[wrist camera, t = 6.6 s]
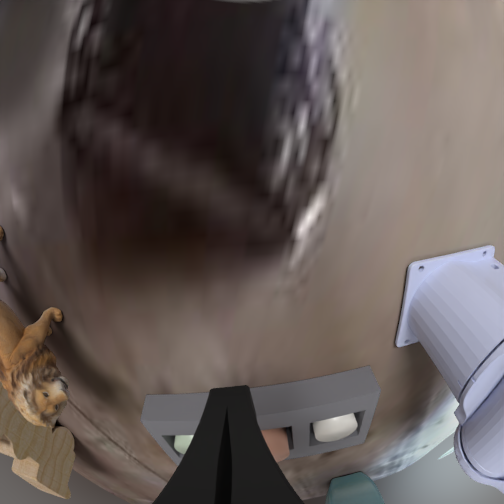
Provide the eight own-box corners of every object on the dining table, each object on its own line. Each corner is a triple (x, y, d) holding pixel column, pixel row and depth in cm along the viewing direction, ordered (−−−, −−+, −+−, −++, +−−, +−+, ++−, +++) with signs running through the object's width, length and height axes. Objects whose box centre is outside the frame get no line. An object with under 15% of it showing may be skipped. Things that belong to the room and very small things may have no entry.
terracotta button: (284, 416, 23) (288, 443, 20) (286, 435, 25) (290, 460, 22) (239, 421, 23) (240, 449, 20) (246, 440, 25) (247, 465, 22)
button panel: (369, 365, 23) (381, 390, 20) (356, 421, 27) (364, 442, 25) (146, 394, 23) (140, 420, 20) (180, 444, 27) (177, 466, 25)
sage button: (212, 412, 24) (211, 439, 22) (221, 432, 26) (221, 456, 23) (171, 414, 24) (168, 439, 22) (184, 433, 26) (182, 457, 23)
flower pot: (320, 476, 35) (330, 523, 27) (373, 463, 35) (387, 507, 27) (318, 490, 39) (325, 530, 30) (364, 479, 38) (375, 517, 30)
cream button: (351, 391, 24) (360, 415, 21) (347, 412, 26) (354, 435, 23) (309, 400, 24) (315, 426, 21) (309, 421, 26) (314, 445, 23)
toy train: (4, 357, 22) (-34, 422, 13) (85, 444, 29) (69, 501, 20) (-17, 358, 22) (-51, 414, 13) (59, 440, 29) (42, 492, 20)
